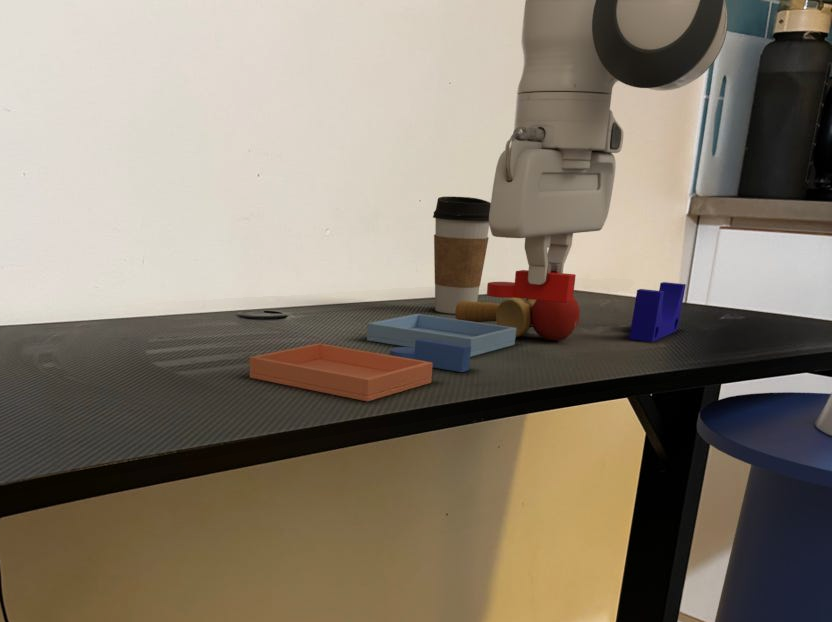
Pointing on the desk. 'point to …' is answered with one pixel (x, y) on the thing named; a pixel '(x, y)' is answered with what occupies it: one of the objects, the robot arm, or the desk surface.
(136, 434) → the desk surface
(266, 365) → the red tray
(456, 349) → the blue stepped block
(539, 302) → the kendama
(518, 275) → the red stepped block
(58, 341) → the desk surface
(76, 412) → the desk surface
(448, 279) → the coffee cup
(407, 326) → the blue tray
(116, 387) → the desk surface
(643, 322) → the cable clip
